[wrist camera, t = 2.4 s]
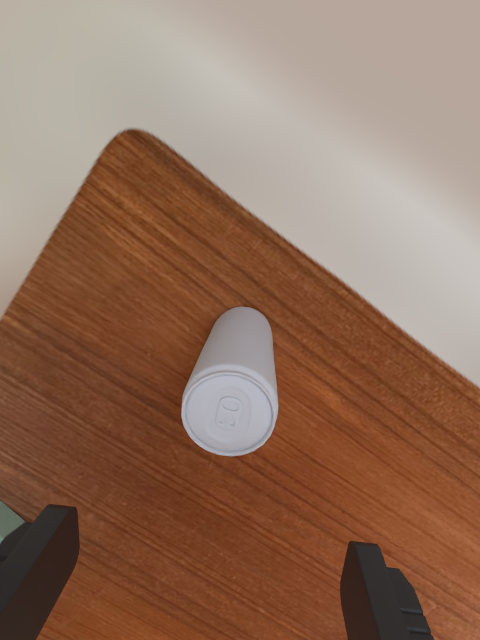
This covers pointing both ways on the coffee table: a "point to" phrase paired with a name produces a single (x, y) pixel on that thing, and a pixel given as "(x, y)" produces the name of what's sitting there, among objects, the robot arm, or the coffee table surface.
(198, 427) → the beverage can
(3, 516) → the scale
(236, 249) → the coffee table surface
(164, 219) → the coffee table surface
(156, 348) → the coffee table surface
